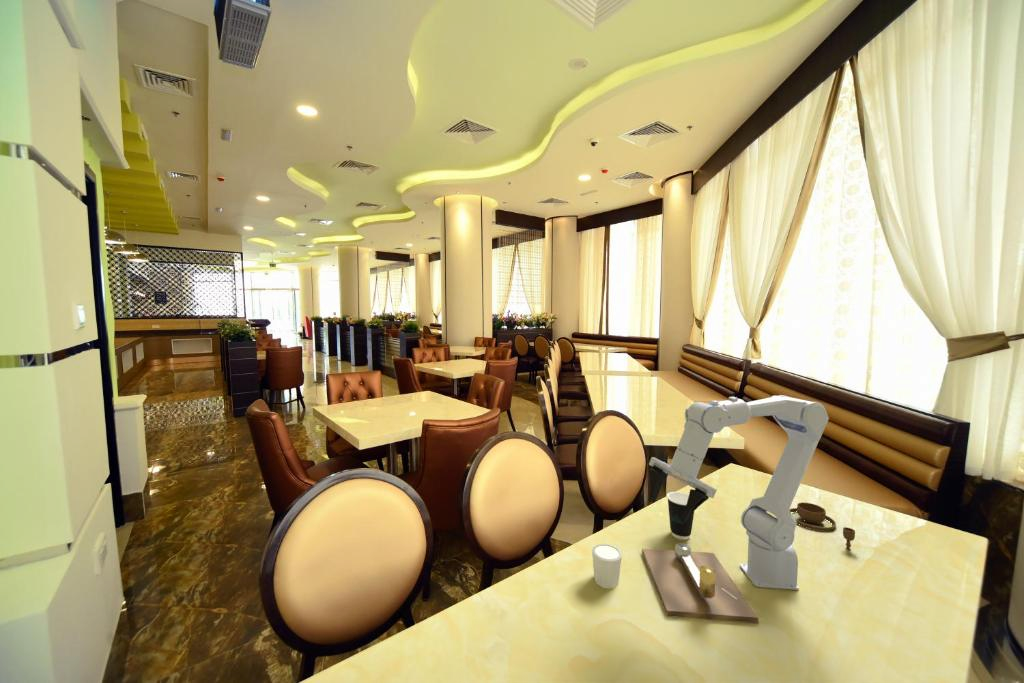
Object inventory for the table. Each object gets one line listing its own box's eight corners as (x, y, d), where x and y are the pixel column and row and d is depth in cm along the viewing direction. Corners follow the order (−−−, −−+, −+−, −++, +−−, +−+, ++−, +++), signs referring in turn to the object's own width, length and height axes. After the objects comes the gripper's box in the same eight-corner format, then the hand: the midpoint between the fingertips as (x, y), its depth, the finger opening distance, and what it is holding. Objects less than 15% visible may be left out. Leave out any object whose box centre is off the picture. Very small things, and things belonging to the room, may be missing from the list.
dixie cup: (691, 529, 114) (692, 492, 113) (699, 544, 106) (700, 505, 105) (663, 526, 115) (664, 490, 114) (668, 541, 107) (669, 502, 107)
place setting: (845, 522, 118) (846, 504, 118) (858, 555, 102) (859, 534, 101) (776, 507, 128) (777, 490, 128) (778, 535, 111) (779, 515, 111)
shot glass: (622, 592, 87) (623, 562, 87) (591, 588, 88) (592, 558, 88) (620, 572, 94) (620, 545, 93) (591, 569, 95) (592, 541, 95)
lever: (687, 555, 98) (688, 528, 98) (718, 608, 80) (719, 575, 80) (673, 554, 99) (673, 527, 98) (700, 606, 81) (701, 574, 80)
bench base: (713, 557, 100) (713, 552, 100) (758, 623, 78) (758, 617, 78) (642, 552, 102) (642, 548, 102) (667, 616, 80) (667, 610, 80)
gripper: (653, 437, 89) (630, 492, 88) (717, 468, 78) (692, 530, 78) (665, 441, 93) (644, 493, 93) (727, 471, 83) (704, 529, 82)
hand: (667, 510), depth 86 cm, fingers open, 7 cm apart
